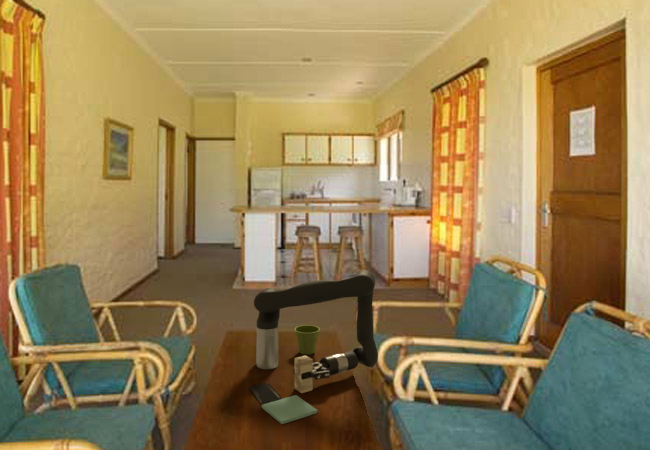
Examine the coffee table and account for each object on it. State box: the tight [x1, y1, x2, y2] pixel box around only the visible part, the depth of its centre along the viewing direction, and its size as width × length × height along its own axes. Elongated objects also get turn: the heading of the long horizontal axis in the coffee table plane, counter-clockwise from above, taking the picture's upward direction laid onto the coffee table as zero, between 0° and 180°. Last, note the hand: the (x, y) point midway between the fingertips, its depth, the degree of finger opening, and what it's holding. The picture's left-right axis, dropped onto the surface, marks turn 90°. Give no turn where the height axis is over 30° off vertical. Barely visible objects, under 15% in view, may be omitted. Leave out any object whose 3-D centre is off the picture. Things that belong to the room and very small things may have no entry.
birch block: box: [294, 354, 314, 394], centre depth 179 cm, size 5×5×12 cm
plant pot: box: [294, 324, 321, 356], centre depth 219 cm, size 12×12×11 cm
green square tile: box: [261, 394, 318, 425], centre depth 163 cm, size 14×14×1 cm
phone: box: [248, 382, 282, 405], centre depth 176 cm, size 8×1×15 cm
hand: (297, 374), depth 178 cm, fingers closed on birch block, 5 cm apart
